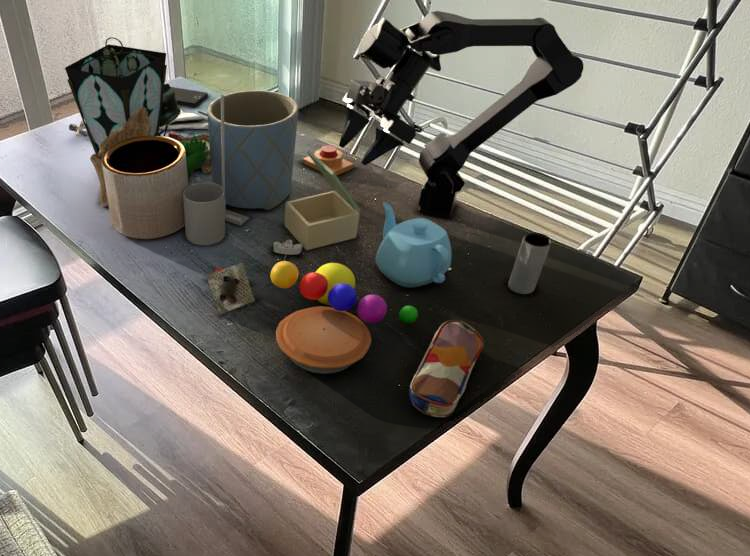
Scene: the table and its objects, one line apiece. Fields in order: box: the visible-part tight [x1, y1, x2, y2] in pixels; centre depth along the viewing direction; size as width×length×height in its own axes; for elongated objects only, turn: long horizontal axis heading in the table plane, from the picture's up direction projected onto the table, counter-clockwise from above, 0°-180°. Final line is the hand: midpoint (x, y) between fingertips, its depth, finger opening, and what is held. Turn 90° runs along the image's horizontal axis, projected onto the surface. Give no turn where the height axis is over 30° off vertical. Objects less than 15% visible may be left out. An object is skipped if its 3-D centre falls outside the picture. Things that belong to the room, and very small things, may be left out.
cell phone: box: [170, 86, 209, 107], centre depth 199 cm, size 9×18×1 cm, turn 62°
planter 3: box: [507, 232, 553, 295], centre depth 121 cm, size 4×4×10 cm
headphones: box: [159, 83, 182, 137], centre depth 173 cm, size 13×13×20 cm
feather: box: [168, 127, 194, 135], centre depth 169 cm, size 2×28×2 cm
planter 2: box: [206, 89, 299, 211], centre depth 149 cm, size 19×19×20 cm
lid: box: [306, 149, 361, 214], centre depth 135 cm, size 12×10×1 cm
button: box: [320, 144, 338, 158], centre depth 161 cm, size 4×4×2 cm
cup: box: [183, 181, 226, 246], centre depth 141 cm, size 8×8×10 cm
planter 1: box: [101, 135, 190, 240], centre depth 144 cm, size 18×18×16 cm
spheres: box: [270, 260, 419, 324], centre depth 118 cm, size 25×8×17 cm
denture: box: [167, 130, 184, 140], centre depth 173 cm, size 6×4×8 cm
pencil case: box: [409, 319, 485, 418], centre depth 106 cm, size 11×20×5 cm, turn 163°
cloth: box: [159, 108, 208, 130], centre depth 187 cm, size 26×14×2 cm, turn 38°
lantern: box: [64, 36, 168, 154], centre depth 160 cm, size 17×17×30 cm
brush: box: [220, 93, 250, 226], centre depth 140 cm, size 4×28×9 cm
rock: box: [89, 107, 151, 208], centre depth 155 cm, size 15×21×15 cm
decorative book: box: [177, 132, 211, 174], centre depth 165 cm, size 13×18×5 cm
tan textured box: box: [206, 262, 256, 315], centre depth 127 cm, size 8×8×6 cm
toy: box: [180, 135, 209, 184], centre depth 150 cm, size 17×9×15 cm, turn 32°
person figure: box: [68, 119, 88, 136], centre depth 184 cm, size 12×15×3 cm
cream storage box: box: [284, 190, 360, 251], centre depth 140 cm, size 11×10×6 cm
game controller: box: [272, 239, 303, 261], centre depth 134 cm, size 6×12×3 cm, turn 2°
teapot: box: [375, 201, 452, 288], centre depth 127 cm, size 13×11×18 cm
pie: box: [275, 305, 372, 375], centre depth 113 cm, size 16×16×5 cm
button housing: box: [302, 148, 354, 177], centre depth 162 cm, size 10×7×3 cm
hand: (351, 155), depth 133 cm, fingers open, 9 cm apart
